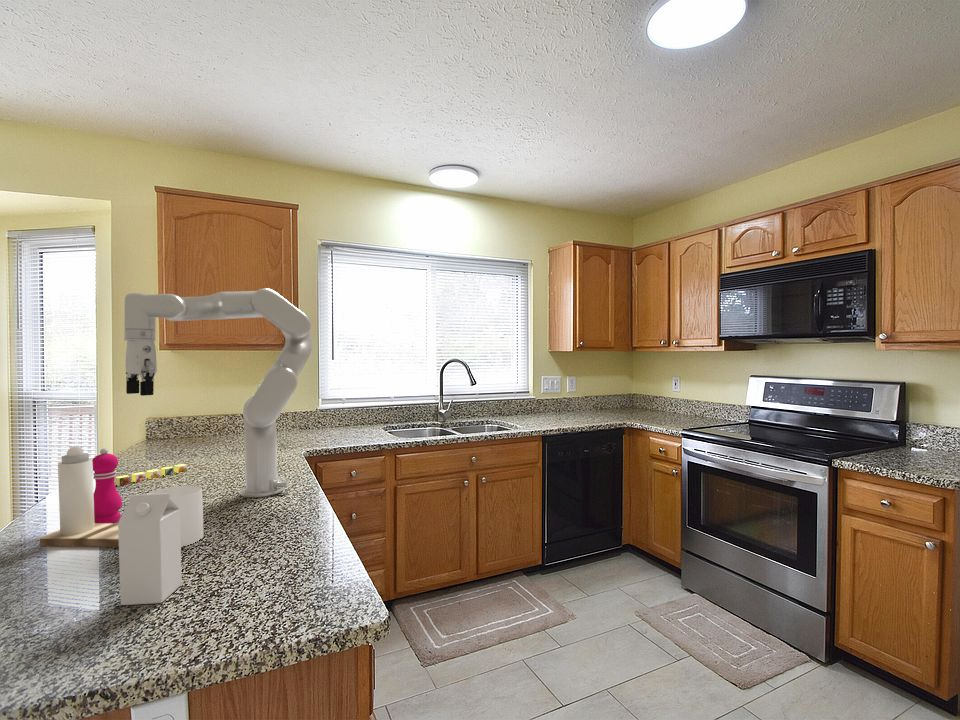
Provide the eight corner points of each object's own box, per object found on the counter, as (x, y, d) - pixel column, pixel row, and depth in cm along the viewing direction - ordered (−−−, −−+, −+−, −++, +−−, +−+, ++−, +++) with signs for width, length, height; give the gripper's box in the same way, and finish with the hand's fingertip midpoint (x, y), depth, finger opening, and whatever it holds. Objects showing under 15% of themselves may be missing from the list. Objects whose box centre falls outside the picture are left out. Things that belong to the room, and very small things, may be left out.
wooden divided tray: (158, 531, 126) (157, 523, 126) (127, 547, 116) (127, 538, 116) (76, 530, 128) (76, 523, 128) (39, 546, 118) (39, 537, 118)
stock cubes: (86, 484, 176) (86, 475, 176) (180, 466, 203) (180, 457, 203) (130, 497, 159) (129, 487, 159) (226, 475, 186) (225, 466, 186)
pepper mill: (129, 518, 137) (126, 446, 137) (101, 527, 130) (99, 451, 130) (110, 516, 139) (108, 445, 139) (82, 524, 133) (80, 450, 132)
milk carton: (143, 587, 96) (140, 489, 96) (182, 585, 97) (179, 488, 96) (120, 606, 89) (117, 500, 89) (161, 603, 90) (158, 499, 89)
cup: (143, 554, 112) (141, 501, 112) (149, 537, 122) (148, 489, 122) (202, 544, 117) (201, 494, 117) (204, 529, 128) (203, 482, 127)
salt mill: (101, 525, 126) (98, 443, 125) (78, 535, 119) (75, 449, 119) (76, 525, 126) (74, 443, 126) (52, 535, 119) (49, 449, 119)
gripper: (167, 336, 143) (167, 395, 143) (142, 336, 153) (141, 392, 153) (137, 334, 137) (137, 396, 137) (113, 335, 147) (113, 393, 147)
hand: (139, 394), depth 145 cm, fingers open, 9 cm apart
